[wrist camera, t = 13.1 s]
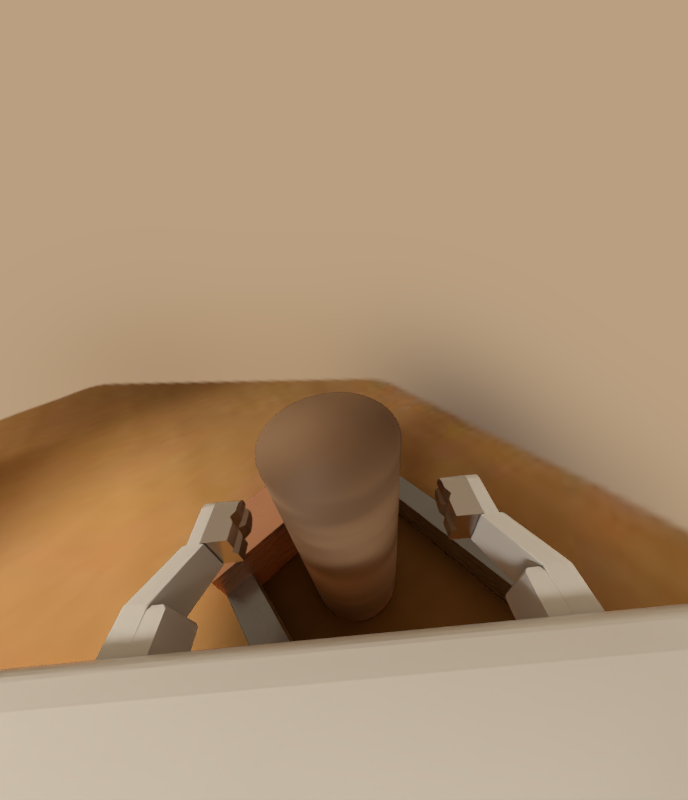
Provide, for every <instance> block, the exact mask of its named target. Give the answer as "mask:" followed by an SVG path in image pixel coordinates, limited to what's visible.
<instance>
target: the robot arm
mask: <svg viewBox="0 0 688 800" xmlns="http://www.w3.org/2000/svg"><path fill="white" fill-rule="evenodd" d="M437 485H438V488H437V489H436V491H435V499H436V504H437V507H438V510H439V513H441V514H442V515H443V516H444V522H443V524H444V527H445V529H446V532H447V535H448V537H449V540H451V539H464V538H471V540H472V541H473V542H474V543H475V544H476V545H477V546H478V547H479V548H480V549H481V550H482V551H483V552H484V553H485V554H486V555H487V556H488V557H489V558H490V559H491V560H492V561H493V562H494V563H495V564H496V565H497V566H498V567H499V568H500V569H501V570H502V571H503V572H504V573H505V574H506V575H507V576H508V577H509V578H510V579H511V580H512V581H513V582H514V584H513V586H512V587H511V588H510V589H509V591H508V592H507V594H506V596H505V597H506V599H507V602H508V604H509V606H510V608H511V611H512V613H513V615H514V617H515V619H516V620H510V621H499V622H489V623H479V624H468V625H458V626H447V627H437V628H426V629H416V630H405V631H395V632H385V633H374V634H364V635H353V636H343V637H332V638H322V639H312V640H301V641H291V642H280V643H270V644H259V645H249V646H238V647H228V648H218V649H207V650H197V651H191V648H192V645H193V641H194V638H195V635H196V631H197V628H198V626H197V624H196V623H195V622H193V621H192V620H190V619H188V618H187V616H188V615H189V613H190V612H191V610H192V609H193V607H194V606H195V605H196V603H197V602H198V600H199V599H200V598H201V596H202V595H203V593H204V592H205V591H206V589H207V588H208V586H209V585H210V584H211V582H212V581H213V579H214V578H215V577H216V575H217V574H218V572H219V571H220V570H221V568H222V567H223V564H225V563H233V562H240V561H244V559H245V555H246V551H247V546H248V542H247V540H246V538H247V536H248V535H249V534H250V533H251V529H252V514H251V512H250V510H248V509H246V508H245V506H246V504H245V502H244V501H243V500H238V501H229V502H217V503H209V504H205V505H204V506H203V507H202V509H201V511H200V514H199V516H198V519H197V521H196V523H195V526H194V528H193V530H192V533H191V535H190V538H189V540H188V542H187V545H186V546H182V547H181V548H180V549H179V550H178V551H177V552H176V553H175V554H174V555H173V556H172V557H171V558H170V559H169V560H168V561H167V562H166V563H165V564H164V565H163V566H162V567H161V568H160V569H159V570H158V572H157V573H156V574H155V575H154V576H153V577H152V578H151V579H150V580H149V581H148V582H147V583H146V584H145V585H144V586H143V587H142V588H141V589H140V590H139V591H138V592H137V593H136V594H135V595H134V596H133V597H132V598H131V599H130V600H129V601H128V602H127V603H126V604H125V605H124V606H123V607H122V609H121V611H120V613H119V615H118V617H117V619H116V621H115V623H114V625H113V627H112V629H111V631H110V633H109V635H108V637H107V639H106V640H105V642H104V644H103V646H102V648H101V650H100V652H99V654H98V656H97V658H96V660H92V661H82V662H71V663H61V664H51V665H40V666H30V667H19V668H9V669H0V800H688V603H687V604H677V605H666V606H656V607H646V608H635V609H625V610H614V611H605V610H604V609H603V607H602V606H601V604H600V603H599V602H598V600H597V599H596V597H595V596H594V594H593V593H592V591H591V590H590V588H589V587H588V585H587V584H586V583H585V581H584V580H583V578H582V577H581V575H580V574H579V572H578V571H577V569H576V568H575V566H574V565H573V564H572V562H571V561H569V560H568V559H567V558H565V557H564V556H562V555H561V554H560V553H558V552H557V551H556V550H554V549H553V548H552V547H550V546H549V545H547V544H546V543H545V542H543V541H542V540H541V539H539V538H538V537H537V536H535V535H534V534H532V533H531V532H530V531H528V530H527V529H526V528H524V527H523V526H522V525H520V524H519V523H517V522H516V521H515V520H513V519H512V518H511V517H509V516H508V515H507V514H505V513H504V512H499V511H498V509H497V507H496V506H495V504H494V502H493V500H492V499H491V497H490V495H489V493H488V492H487V490H486V488H485V486H484V485H483V483H482V481H481V479H480V477H479V476H478V475H477V474H471V475H460V476H452V477H445V478H439V479H438V480H437Z"/></svg>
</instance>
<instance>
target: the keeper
mask: <svg viewBox="0 0 688 800" xmlns="http://www.w3.org/2000/svg"><path fill="white" fill-rule="evenodd" d="M400 459H401V431H400V427H399V424H398V422H397V420H396V418H395V417H394V415H393V414H392V413H391V412H390V411H389V410H388V408H386V407H385V406H384V405H382V404H381V403H379V402H378V401H376V400H374V399H372V398H369V397H366V396H363V395H359V394H355V393H346V392H332V393H323V394H318V395H314V396H310V397H307V398H304V399H301V400H299V401H297V402H295V403H293V404H291V405H289V406H287V407H286V408H284V409H283V410H281V411H280V412H279V413H277V414H276V415H275V416H274V417H273V418H272V419H271V420H270V421H269V422H268V423H267V424H266V426H265V427H264V429H263V430H262V431H261V433H260V435H259V437H258V440H257V443H256V448H255V462H256V466H257V469H258V471H259V473H260V476H261V478H262V480H263V482H264V484H265V486H266V488H267V490H268V492H269V494H270V496H271V498H272V500H273V502H274V504H275V506H276V508H277V510H278V512H279V514H280V516H281V518H282V520H283V522H284V524H285V526H286V528H287V530H288V532H289V534H290V536H291V538H292V540H293V542H294V544H295V546H296V548H297V550H298V552H299V554H300V556H301V558H302V560H303V562H304V564H305V566H306V569H307V571H308V573H309V575H310V577H311V579H312V581H313V583H314V585H315V587H316V589H317V591H318V593H319V595H320V597H321V599H322V601H323V602H324V604H325V605H326V606H327V608H328V609H329V610H330V611H331V612H332V613H334V614H335V615H337V616H338V617H340V618H342V619H345V620H348V621H363V620H367V619H370V618H372V617H374V616H375V615H377V614H378V613H379V612H381V611H382V610H383V609H384V607H385V606H386V605H387V604H388V602H389V600H390V598H391V596H392V594H393V591H394V588H395V582H396V562H397V536H398V510H399V484H400Z"/></svg>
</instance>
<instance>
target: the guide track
mask: <svg viewBox="0 0 688 800" xmlns="http://www.w3.org/2000/svg"><path fill="white" fill-rule="evenodd" d="M245 504H246V506H245V508H246V509H248V510H250V512H251V514H252V529H251V533H250V534H249V535H248V536H247V538H246V540H247V542H248V546H247V551H246V555H245V559H244V561H240V562H233V563H225V564H223V567H222V568H221V570H220V571H219V572H218V574H217V575H216V577H215V578H214V579H213V581H212V583H213V584H214V585H215V586H216V587H217V588H218V589H220V590H221V591H222V592H223V593H224V594H225V595H227V597H228V599H229V601H230V603H231V606H232V608H233V610H234V612H235V615H236V617H237V619H238V621H239V623H240V626H241V628H242V630H243V632H244V634H245V637H246V639H247V641H248V643H249V645H259V644H270V643H280V642H291V641H293V639H292V637H291V635H290V634H289V632H288V630H287V628H286V627H285V625H284V623H283V621H282V620H281V618H280V616H279V614H278V613H277V611H276V609H275V607H274V606H273V604H272V602H271V600H270V599H269V597H268V595H267V593H266V592H265V590H264V588H263V585H264V584H265V583H266V582H267V581H268V580H269V579H270V578H271V577H272V576H273V575H275V574H276V573H277V572H278V571H279V570H280V569H281V568H282V567H283V566H284V565H285V564H286V563H287V562H288V561H289V560H290V559H292V558H293V557H294V556H295V555H296V554H297V553H298V550H297V548H296V546H295V544H294V542H293V540H292V538H291V536H290V534H289V532H288V530H287V528H286V526H285V524H284V522H283V520H282V518H281V516H280V514H279V512H278V510H277V508H276V506H275V504H274V502H273V500H272V498H271V496H270V494H269V492H268V490H267V488H266V486H265V487H264V488H263V489H261V490H260V491H259V492H257V493H256V494H254V495H253V496H252V497H250V498H249V499H248V500H246V501H245ZM398 514H400V515H401V516H402V517H403V518H404V519H406V520H407V521H408V522H409V523H411V524H412V525H413V526H414V527H415V528H417V529H418V530H419V531H420V532H422V533H423V534H424V535H425V536H426V537H428V538H429V539H430V540H431V541H433V542H434V543H435V544H436V545H437V546H439V547H440V548H441V549H442V550H443V551H445V552H446V553H447V554H448V555H450V556H451V557H452V558H453V559H454V560H456V561H457V562H458V563H459V564H461V565H462V566H463V567H464V568H465V569H467V570H468V571H469V572H470V573H472V574H473V575H474V576H475V577H476V578H478V579H479V580H480V581H481V582H482V583H484V584H485V585H486V586H487V587H489V588H490V589H491V590H492V591H493V592H495V593H496V594H497V595H498V596H500V597H501V598H502V599H503V600H504V601H506V602H507V599H506V597H505V596H506V594H507V592H508V591H509V589H510V588H511V587H512V586H513V584H514V582H513V581H512V580H511V579H510V578H509V577H508V576H507V575H506V574H505V573H504V572H503V571H502V570H501V569H500V568H499V567H498V566H497V565H496V564H495V563H494V562H493V561H492V560H491V559H490V558H489V557H488V556H487V555H486V554H485V553H484V552H483V551H482V550H481V549H480V548H479V547H478V546H477V545H476V544H475V543H474V542H473V541H472V540H471V538H464V539H451V540H449V537H448V535H447V532H446V529H445V527H444V524H443V522H444V516H443V515H442V514H441V513H439V510H438V507H437V504H436V501H435V500H434V499H433V498H431V497H430V496H428V495H427V494H426V493H424V492H423V491H421V490H420V489H418V488H417V487H416V486H414V485H413V484H411V483H410V482H408V481H407V480H406V479H404V478H403V477H401V476H400V484H399V510H398ZM507 603H508V602H507Z"/></svg>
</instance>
